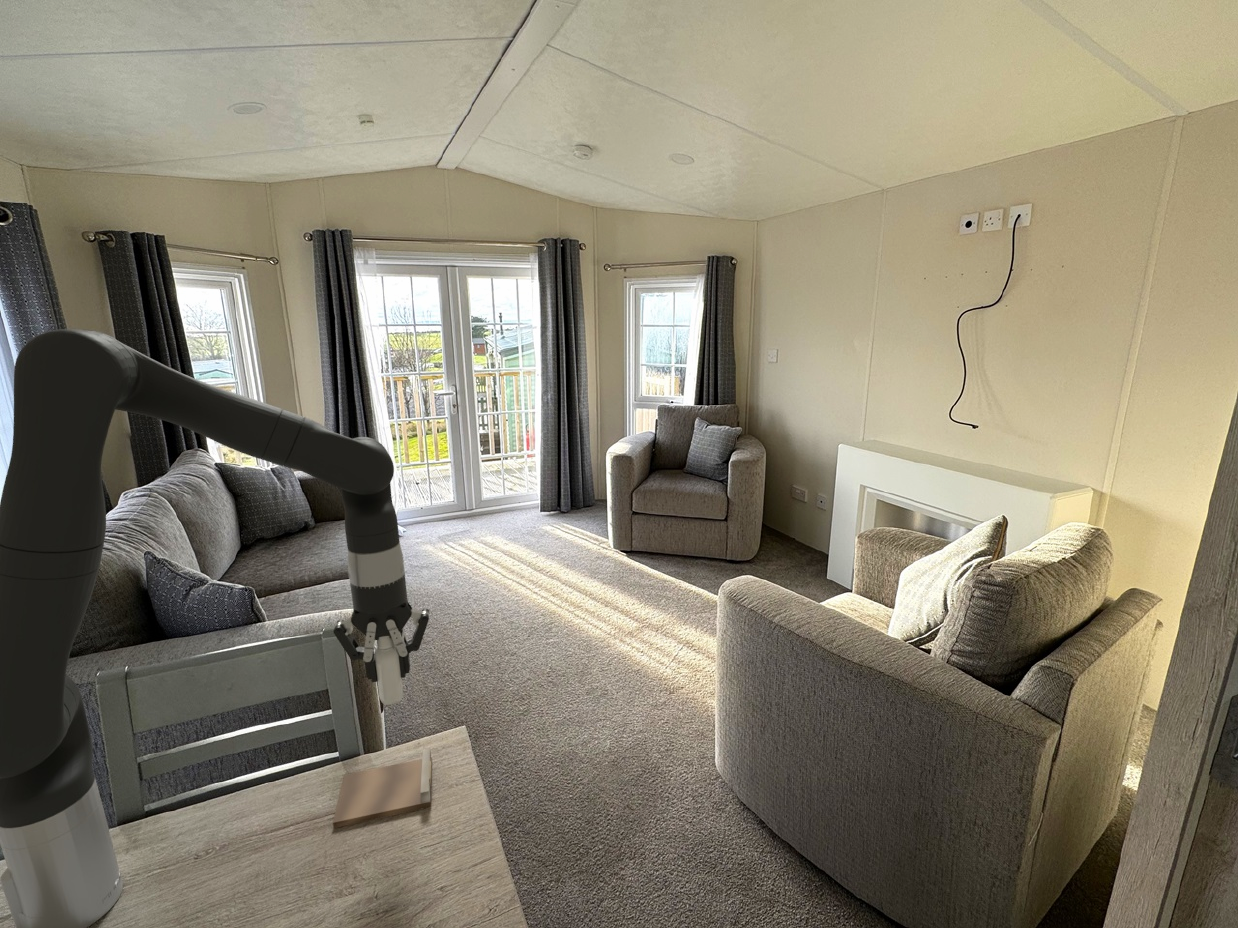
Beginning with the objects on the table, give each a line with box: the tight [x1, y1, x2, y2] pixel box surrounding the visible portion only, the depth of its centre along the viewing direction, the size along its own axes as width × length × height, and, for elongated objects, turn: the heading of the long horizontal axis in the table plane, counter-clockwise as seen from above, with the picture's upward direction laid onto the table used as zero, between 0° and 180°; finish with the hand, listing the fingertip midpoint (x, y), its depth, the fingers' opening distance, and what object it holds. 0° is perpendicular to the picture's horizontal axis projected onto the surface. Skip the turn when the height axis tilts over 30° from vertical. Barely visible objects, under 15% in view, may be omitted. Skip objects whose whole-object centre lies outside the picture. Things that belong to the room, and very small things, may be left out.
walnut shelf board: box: [332, 747, 433, 829], centre depth 95 cm, size 14×10×3 cm
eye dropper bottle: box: [374, 636, 404, 706], centre depth 90 cm, size 4×6×12 cm
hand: (389, 676), depth 91 cm, fingers closed on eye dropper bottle, 3 cm apart
